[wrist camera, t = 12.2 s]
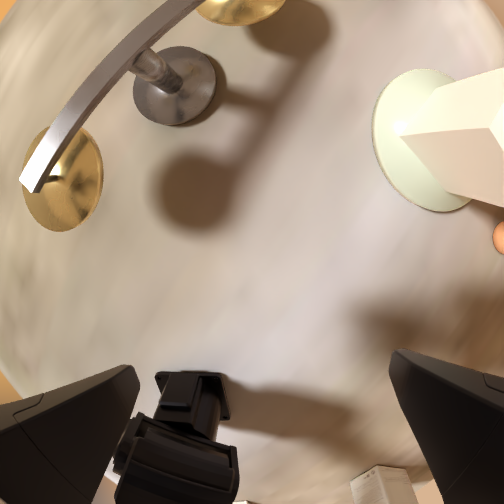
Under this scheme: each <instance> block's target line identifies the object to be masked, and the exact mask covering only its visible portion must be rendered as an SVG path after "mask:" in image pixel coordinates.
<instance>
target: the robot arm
mask: <svg viewBox="0 0 504 504" xmlns="http://www.w3.org/2000/svg"><path fill="white" fill-rule="evenodd" d="M389 376H390V379H391V382H392V384H393V387H394V390H395V393H396V396H397V399H398V402H399V404H400V407H401V409H402V411H403V413H404V415H405V417H406V419H407V421H408V423H409V425H410V427H411V429H412V431H413V433H414V435H415V438H416V440H417V442H418V444H419V446H420V448H421V450H422V452H423V455H424V457H425V459H426V461H427V463H428V466H429V468H430V470H431V472H432V475H433V477H434V479H435V482H436V484H437V486H438V488H439V491H440V493H441V495H442V498H443V501H444V504H504V378H503V377H499V376H495V375H491V374H487V373H482V372H479V371H475V370H472V369H469V368H465V367H462V366H459V365H455V364H452V363H449V362H445V361H442V360H439V359H436V358H432V357H429V356H426V355H423V354H420V353H417V352H414V351H411V350H407V349H404V348H402V349H397V350H394V351H393V352H392V356H391V361H390V366H389ZM160 377H161V378H160ZM215 378H218V379H215ZM155 380H156V382H157V385H158V388H159V390H160V393H161V397H160V400H159V404H158V407H157V409H156V412H155V414H154V416H153V419H152V418H150V417H147V416H145V415H144V414H143V413H141V412H138V414H137V415H136V417H133V418H132V419H130V417H131V414H132V411H133V408H134V405H135V402H136V399H137V396H138V393H139V390H140V382H139V379H138V377H137V374H136V372H135V369H134V367H133V366H132V365H120V366H117V367H115V368H112V369H110V370H107V371H104V372H102V373H99V374H96V375H94V376H91V377H88V378H86V379H83V380H80V381H77V382H74V383H72V384H69V385H66V386H63V387H60V388H57V389H55V390H52V391H49V392H46V393H45V394H44V393H42V394H39V395H36V396H32V397H29V398H26V399H22V400H19V401H15V402H11V403H7V404H3V405H0V504H91V502H92V501H93V498H94V496H95V494H96V491H97V489H98V487H99V485H100V482H101V480H102V478H103V476H104V473H105V471H106V469H107V467H108V464H109V462H110V460H111V458H112V456H113V458H114V461H113V464H114V467H113V472H114V473H116V474H118V475H120V476H121V477H120V480H119V483H118V485H117V488H116V491H115V494H114V499H115V502H116V504H233V502H234V500H235V498H236V495H237V492H238V488H239V480H240V479H239V468H238V458H237V448H236V447H235V446H231V445H230V446H228V445H224V444H221V443H218V442H216V436H217V430H218V425H219V420H229V419H230V416H231V414H230V410H229V406H228V402H227V398H226V393H225V389H224V385H223V380H222V376H221V375H220V374H218V373H174V372H157V373H156V375H155Z"/></svg>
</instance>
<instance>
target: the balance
mask: <svg viewBox="0 0 504 504" xmlns="http://www.w3.org/2000/svg"><path fill="white" fill-rule="evenodd" d="M284 2H285V0H168V1H166V2H165V3H164V4H163V5H161V6H160V7H159V8H158V9H156V10H155V11H154V12H153V13H152V14H150V15H149V16H148V17H147V18H146V19H145V20H143V21H142V22H141V23H140V24H139V25H138V26H137V27H136V28H134V29H133V30H132V31H131V32H130V33H129V34H128V35H127V36H126V37H125V38H124V39H123V40H122V41H121V42H120V43H119V44H118V45H117V46H116V47H115V48H114V49H113V50H112V51H111V52H110V53H109V54H108V55H107V56H106V57H105V58H104V59H103V60H102V62H101V63H100V64H99V65H98V66H97V67H96V68H95V69H94V70H93V72H92V73H91V74H90V75H89V76H88V77H87V79H86V80H85V81H84V82H83V83H82V85H81V86H80V87H79V88H78V90H77V91H76V92H75V93H74V95H73V96H72V97H71V99H70V100H69V101H68V103H67V104H66V105H65V107H64V108H63V109H62V111H61V112H60V113H59V115H58V116H57V118H56V119H55V121H54V122H53V123H52V125H51V126H49V127H47V128H45V129H44V130H43V131H41V132H40V133H39V134H38V135H37V137H36V138H35V139H34V140H33V142H32V143H31V145H30V147H29V149H28V151H27V154H26V156H25V160H24V164H23V170H22V175H21V177H20V179H19V180H20V181H21V182H22V188H23V194H24V198H25V202H26V204H27V207H28V209H29V211H30V213H31V214H32V216H33V217H34V218H35V219H36V221H37V222H38V223H39V224H41V225H42V226H43V227H45V228H47V229H49V230H52V231H56V232H63V231H68V230H70V229H73V228H75V227H77V226H79V225H81V224H82V223H84V222H85V221H86V220H87V219H88V218H89V217H90V216H91V214H92V213H93V211H94V210H95V208H96V206H97V204H98V202H99V199H100V196H101V192H102V187H103V175H104V172H103V162H102V157H101V154H100V150H99V148H98V146H97V144H96V142H95V140H94V139H93V137H92V136H91V135H90V134H89V133H88V132H87V131H86V130H85V129H83V128H82V127H81V126H82V125H83V124H84V122H85V121H86V120H87V118H88V117H89V116H90V114H91V113H92V112H93V111H94V109H95V108H96V107H97V105H98V104H99V103H100V102H101V100H102V99H103V98H104V97H105V96H106V94H107V93H108V92H109V91H110V90H111V89H112V87H113V86H114V85H115V84H116V83H117V82H118V81H119V79H120V78H121V77H122V76H123V75H124V74H125V73H126V72H127V71H130V72H132V73H134V74H135V75H136V78H135V81H134V86H133V97H134V101H135V104H136V106H137V108H138V110H139V111H140V112H141V114H142V115H144V116H145V117H146V118H148V119H149V120H151V121H153V122H156V123H160V124H163V125H178V124H182V123H186V122H188V121H190V120H192V119H194V118H196V117H197V116H199V115H200V114H201V113H202V112H203V111H204V110H205V109H206V108H207V107H208V105H209V104H210V102H211V100H212V99H213V96H214V94H215V90H216V84H217V81H216V73H215V70H214V68H213V66H212V64H211V63H210V61H209V60H208V58H207V57H206V56H205V55H204V54H202V53H201V52H200V51H198V50H196V49H193V48H190V47H184V46H177V47H170V48H167V49H164V50H161V51H159V52H157V53H155V52H154V51H153V50H152V49H150V47H151V46H152V45H153V44H155V43H156V42H157V41H158V40H159V39H160V38H161V37H162V36H163V35H164V34H165V33H167V32H168V31H169V30H170V29H171V28H172V27H173V26H175V25H176V24H177V23H178V22H179V21H181V20H182V19H183V18H184V17H185V16H187V15H188V14H189V13H190V12H192V11H193V10H194V9H196V11H197V12H198V13H199V14H200V15H201V16H202V17H204V18H205V19H207V20H209V21H211V22H214V23H217V24H221V25H227V26H244V25H250V24H254V23H258V22H261V21H263V20H265V19H267V18H269V17H271V16H273V15H274V14H275V13H276V12H278V11H279V10H280V9H281V7H282V6H283V4H284Z"/></svg>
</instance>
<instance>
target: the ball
mask: <svg viewBox="0 0 504 504" xmlns="http://www.w3.org/2000/svg"><path fill="white" fill-rule="evenodd" d="M493 242H494V245H495V247H496V249H497V250H498V251H499V252H500V253H502V254H504V221H503V222H501V223H499V224H498V225H497V226H496V228H495V230H494V233H493Z"/></svg>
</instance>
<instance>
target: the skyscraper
mask: <svg viewBox="0 0 504 504" xmlns="http://www.w3.org/2000/svg"><path fill="white" fill-rule="evenodd" d="M233 504H251V503H249V502H248V501H247V500H243V501H234V502H233Z"/></svg>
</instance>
